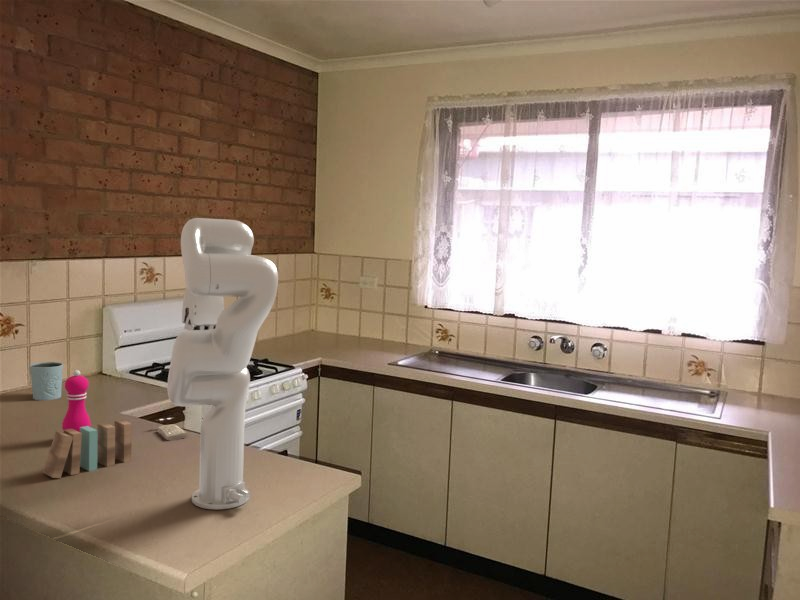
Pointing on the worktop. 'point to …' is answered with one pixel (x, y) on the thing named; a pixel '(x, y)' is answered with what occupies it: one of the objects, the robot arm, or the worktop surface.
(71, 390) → the pepper mill
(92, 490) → the worktop surface
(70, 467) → the domino
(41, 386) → the light blue cup
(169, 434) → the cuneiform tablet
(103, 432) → the domino
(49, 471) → the domino
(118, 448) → the domino
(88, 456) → the domino
